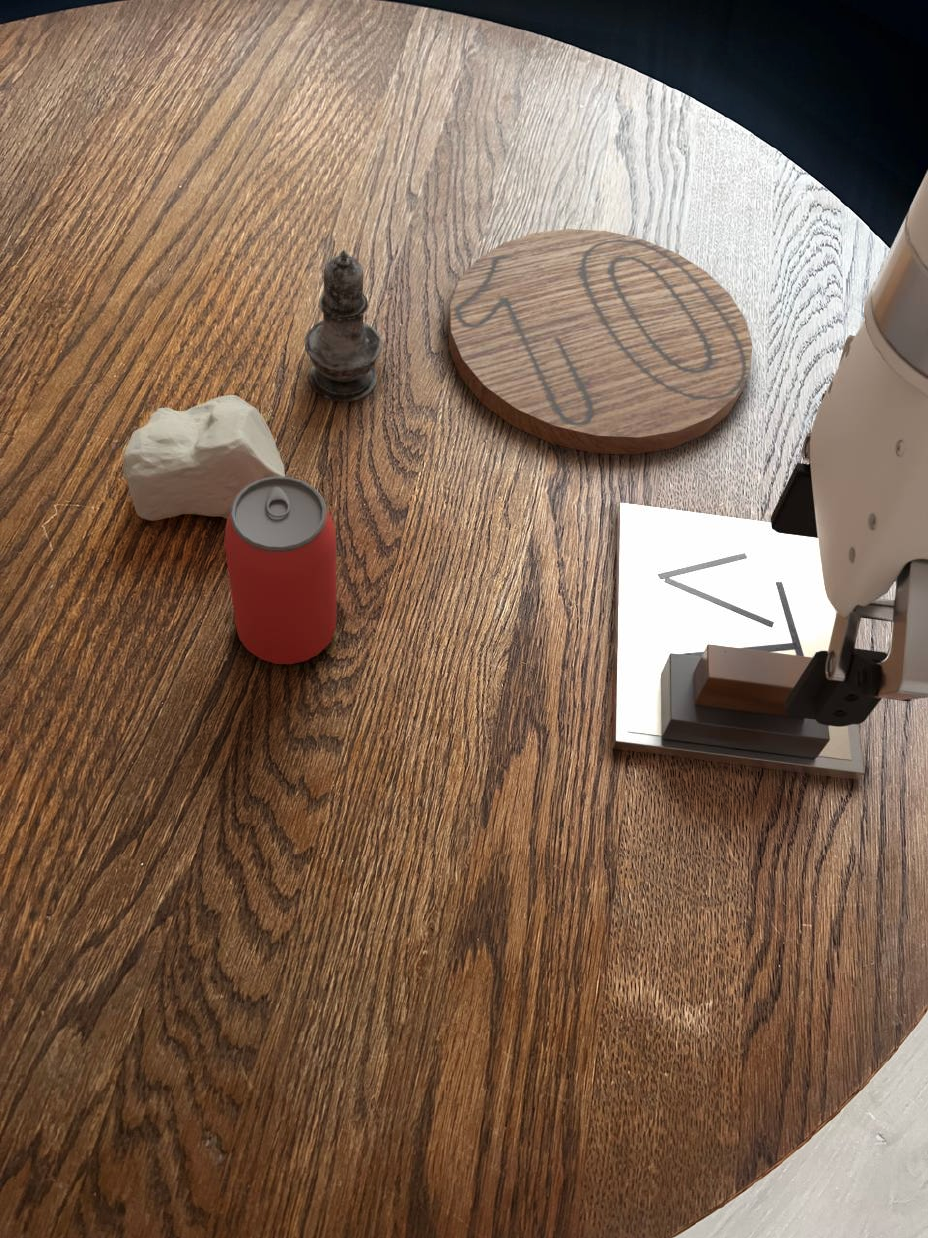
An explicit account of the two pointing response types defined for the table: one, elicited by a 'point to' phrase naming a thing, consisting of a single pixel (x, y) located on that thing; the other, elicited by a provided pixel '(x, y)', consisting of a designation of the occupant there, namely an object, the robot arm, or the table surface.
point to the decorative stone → (198, 458)
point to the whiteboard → (714, 621)
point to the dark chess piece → (343, 336)
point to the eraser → (737, 701)
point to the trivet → (599, 341)
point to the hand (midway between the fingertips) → (811, 617)
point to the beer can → (282, 569)
